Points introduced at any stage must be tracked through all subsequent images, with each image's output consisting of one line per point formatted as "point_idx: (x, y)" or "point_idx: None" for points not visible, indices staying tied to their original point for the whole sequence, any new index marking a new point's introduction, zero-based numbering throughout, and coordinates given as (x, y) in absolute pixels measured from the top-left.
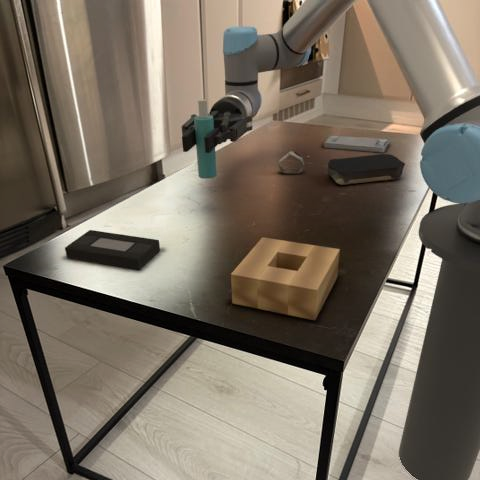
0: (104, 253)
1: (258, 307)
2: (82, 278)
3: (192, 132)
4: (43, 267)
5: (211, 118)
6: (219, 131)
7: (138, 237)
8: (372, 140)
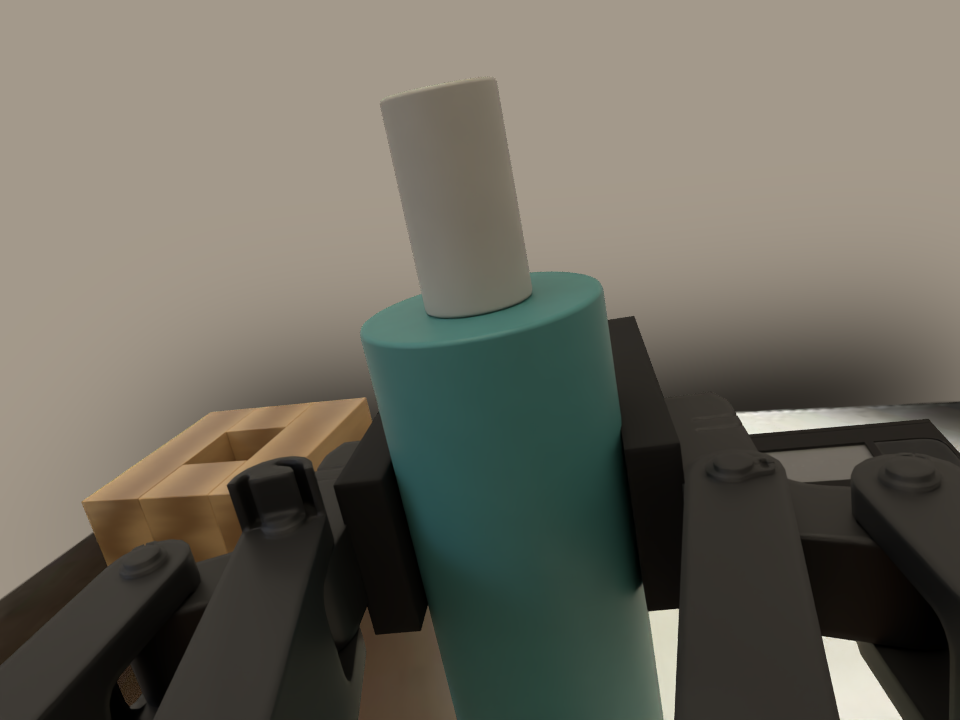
0: (767, 434)
1: None
2: (775, 426)
3: None
4: (940, 420)
5: (378, 314)
6: (338, 538)
7: None
8: None
